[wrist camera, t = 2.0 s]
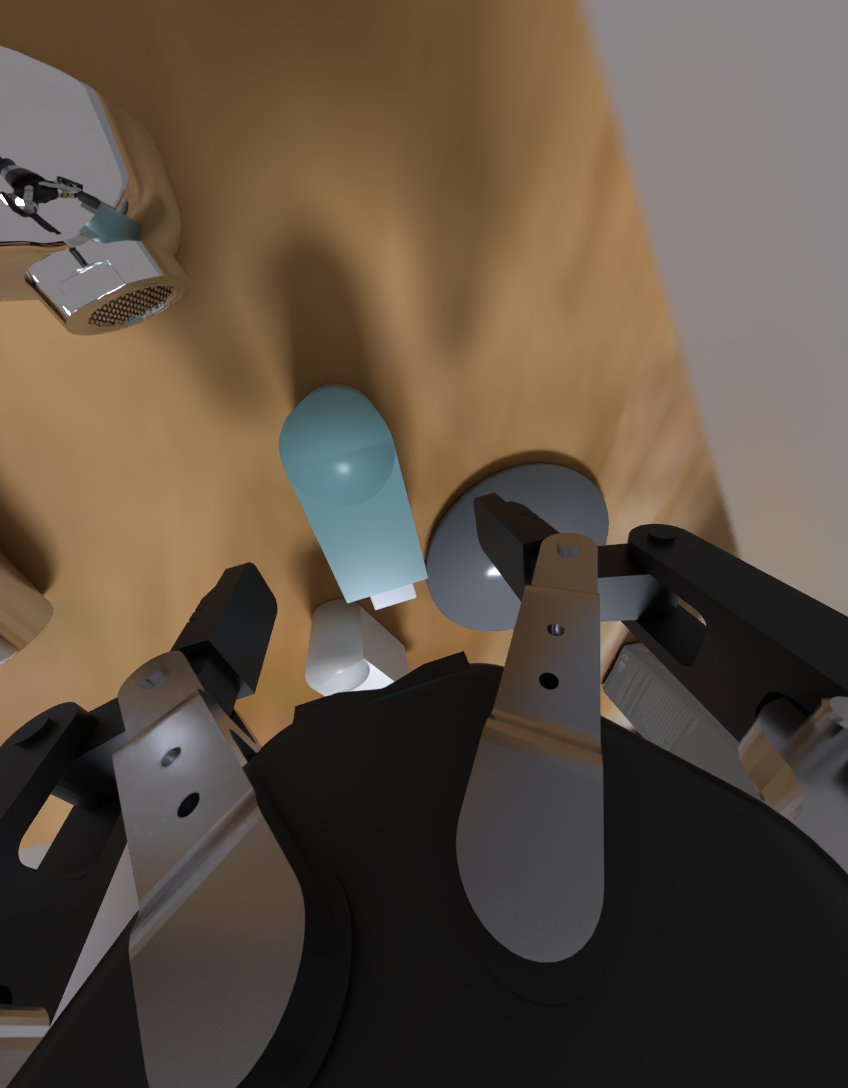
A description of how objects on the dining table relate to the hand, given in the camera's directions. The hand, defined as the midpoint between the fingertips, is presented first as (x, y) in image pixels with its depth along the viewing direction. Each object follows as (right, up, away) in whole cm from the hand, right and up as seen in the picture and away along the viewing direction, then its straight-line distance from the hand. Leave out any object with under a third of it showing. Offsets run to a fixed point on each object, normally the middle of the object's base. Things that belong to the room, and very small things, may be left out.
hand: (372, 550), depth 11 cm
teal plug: (-1, +3, +4) cm, 5 cm away
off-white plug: (-2, -6, +9) cm, 11 cm away
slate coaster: (+8, -1, +9) cm, 12 cm away
